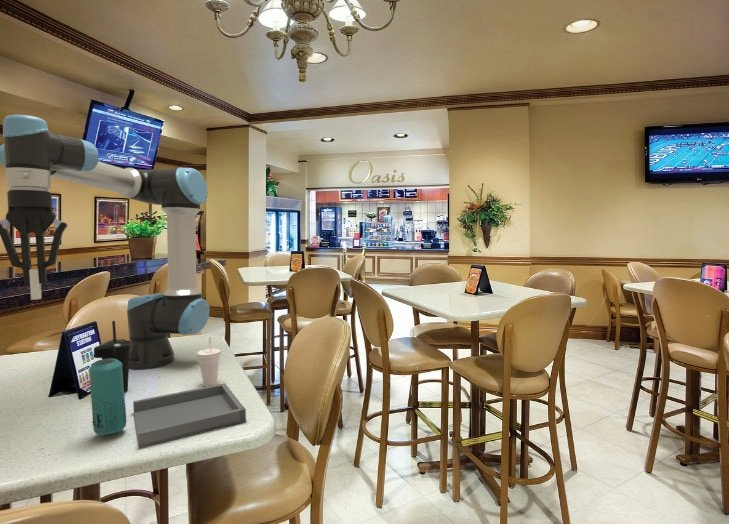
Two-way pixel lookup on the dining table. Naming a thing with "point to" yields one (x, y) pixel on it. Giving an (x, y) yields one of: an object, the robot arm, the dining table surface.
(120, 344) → the drinking cup
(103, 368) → the beverage bottle
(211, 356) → the smoothie
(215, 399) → the charcoal tray
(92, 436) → the dining table surface
